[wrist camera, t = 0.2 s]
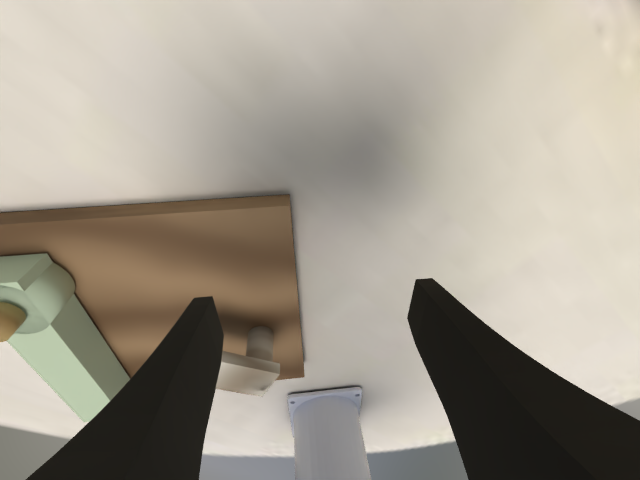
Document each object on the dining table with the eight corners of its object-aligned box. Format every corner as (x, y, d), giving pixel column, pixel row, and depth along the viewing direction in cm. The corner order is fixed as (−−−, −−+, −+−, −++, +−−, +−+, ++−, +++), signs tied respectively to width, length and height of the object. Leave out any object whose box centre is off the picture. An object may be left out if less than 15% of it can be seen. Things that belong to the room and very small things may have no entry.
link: (-17, 257, 18) (-56, 287, 16) (55, 252, 18) (26, 281, 16) (93, 391, 26) (77, 422, 24) (141, 386, 26) (130, 416, 24)
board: (303, 362, 30) (307, 423, 25) (86, 385, 28) (48, 454, 24) (289, 194, 19) (291, 245, 15) (-53, 215, 18) (-168, 280, 13)
